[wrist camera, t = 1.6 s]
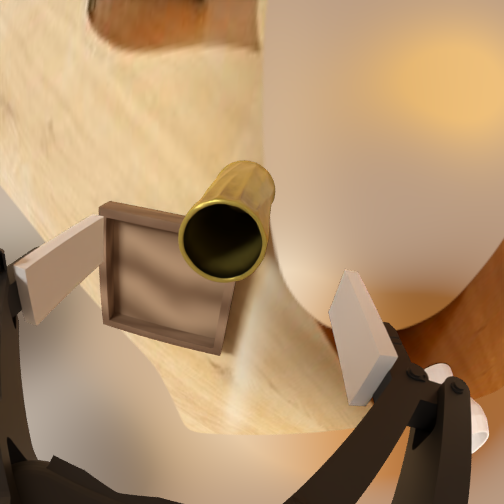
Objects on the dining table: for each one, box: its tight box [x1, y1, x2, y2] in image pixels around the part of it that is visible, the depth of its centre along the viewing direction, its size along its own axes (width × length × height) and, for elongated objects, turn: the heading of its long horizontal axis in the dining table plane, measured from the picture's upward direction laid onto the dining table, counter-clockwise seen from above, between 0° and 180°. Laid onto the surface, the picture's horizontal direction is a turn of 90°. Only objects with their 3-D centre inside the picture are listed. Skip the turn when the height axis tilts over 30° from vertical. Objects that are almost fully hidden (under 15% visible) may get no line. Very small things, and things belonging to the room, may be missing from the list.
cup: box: [424, 363, 489, 453], centre depth 33 cm, size 11×11×15 cm
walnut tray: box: [99, 201, 236, 356], centre depth 34 cm, size 16×16×2 cm
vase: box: [178, 161, 275, 283], centre depth 24 cm, size 6×6×14 cm
